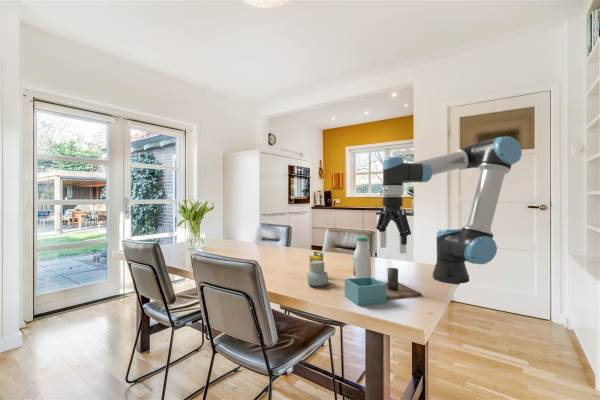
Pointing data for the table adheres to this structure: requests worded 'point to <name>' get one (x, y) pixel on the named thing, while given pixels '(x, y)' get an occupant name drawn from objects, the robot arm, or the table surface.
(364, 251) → the milk bottle
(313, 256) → the crayon box
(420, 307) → the table surface
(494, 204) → the robot arm
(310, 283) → the air freshener
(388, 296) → the lid
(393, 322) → the table surface
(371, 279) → the teal storage bin
